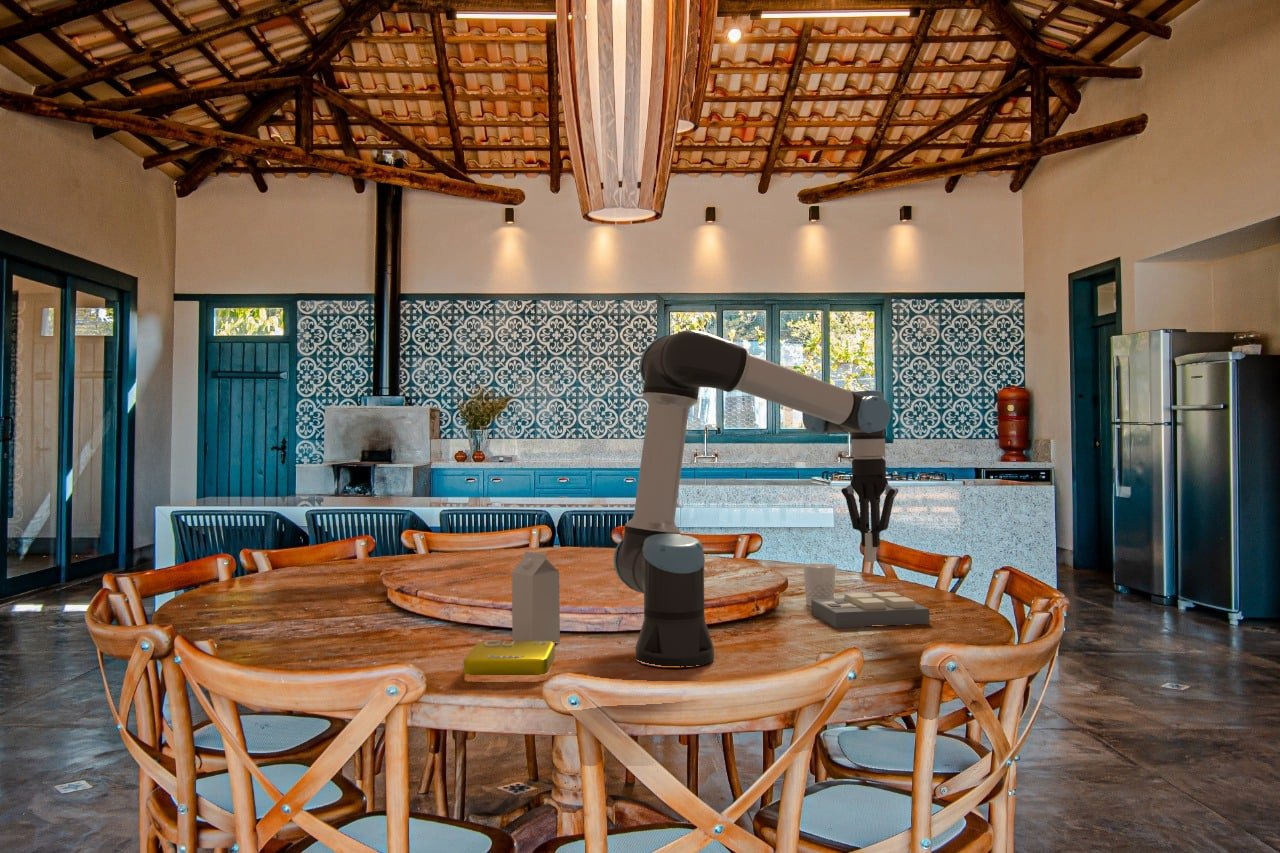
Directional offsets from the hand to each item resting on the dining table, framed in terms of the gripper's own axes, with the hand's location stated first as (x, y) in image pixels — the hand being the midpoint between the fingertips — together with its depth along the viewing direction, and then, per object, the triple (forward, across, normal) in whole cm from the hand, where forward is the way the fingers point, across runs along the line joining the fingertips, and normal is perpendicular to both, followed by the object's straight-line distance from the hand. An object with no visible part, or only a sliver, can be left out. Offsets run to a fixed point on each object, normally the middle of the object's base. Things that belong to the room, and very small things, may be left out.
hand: (871, 561), depth 203 cm
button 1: (+11, +5, -5) cm, 13 cm away
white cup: (+14, +19, -13) cm, 27 cm away
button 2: (+11, 0, 0) cm, 11 cm away
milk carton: (+13, +49, +59) cm, 78 cm away
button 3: (+11, 0, -10) cm, 15 cm away
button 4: (+11, -5, -5) cm, 13 cm away
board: (+14, +2, -3) cm, 14 cm away
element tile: (+14, +38, +77) cm, 87 cm away
